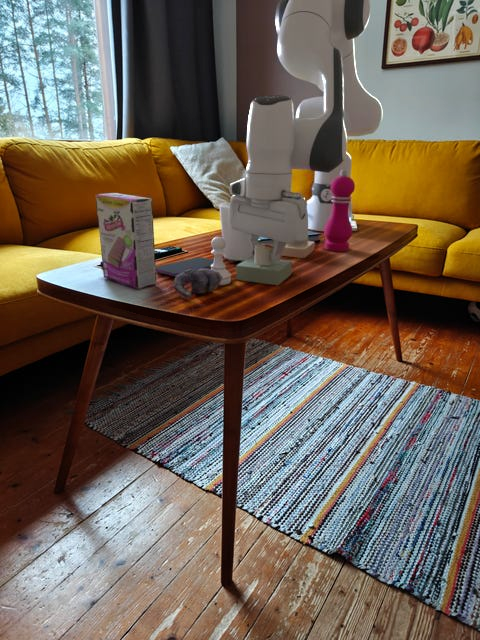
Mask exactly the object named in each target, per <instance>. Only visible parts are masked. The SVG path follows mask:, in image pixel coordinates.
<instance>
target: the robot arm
mask: <svg viewBox="0 0 480 640" xmlns="http://www.w3.org/2000/svg"><path fill="white" fill-rule="evenodd" d="M370 1H371V0H280V1H279V2H278V4H277V6H276V10H275V18H274V23H275V30H276V35H277V43H276V52H277V54H276V55H277V58H278V60H279V62H280V64H281V66H282V67H283V69H284V70H285V71H286V72H287V73H289V74H290V75H291V76H293V77H294V78H297V80H301V81H305V82H308V83H311V84H313V85H315V86H317V88H318V89H319V90H320V91H321V92H323V96H315V97H310V98H306V99H303V100H302V101H301V102H300V103H299V105H298V107H297V108H296V112H295V111H294V110H295V109H294V101H293V98H291V97H289V96H286V95H280V94H279V95H273V94H272V95H263V96H258V97H256V98H254V99H253V100H252V101H251V103H250V107H249V114H248V119H247V129H246V151H247V165H246V168H245V177H243V178H241V179H239V180H236V181H234V182H232V183H230V184H229V194H230V195H232V196H231V197H230V199H229V203H230V224H231V227H232V229H234V230H238V231H242V232H246V233H248V241H249V243H250V246H251V255H253V256H255V245H256V244H260V242H259V240H258V238H259V239H260V237H262V238H264V239H269V240H272V241H273V242H272V244H273V245H275V248H274V250H273V252H270V254H269V256H270V258H269V260H270V261H272V262H275V263H276V262H280V260H281V258H282V256H281V253H282V251H283V249H284V248H285V246H286V243H287V244H291V245H298V244H303V243H305V242H306V240H307V239H308V240H309V230H311V231H316V232H317V231H318V232H324V230H325V227H326V224H327V222H328V221H329V219H330V217H331V214H332V210H333V202H332V201H331V200H332V196H333V193H332V192H331V189H330V187H331V183H332V181H333V180H334V179H335V178H337V177H340V176H341V175H340V172H341V171H342V170H346V171H347V172H348V174H347V177H350V178H351V174H352V164H353V161H352V160H353V159H352V156H351V155H350V154H349V152H347V150H348V137H362V136H366V135H371V134H374V133H375V132H376V131H377V130H378V129H379V127H380V125H381V123H382V120H383V113H384V112H383V107H382V104H381V102H380V101H379V100H378V98H377V97H375V96H373V95H372V94H371V93H369V92H368V91H367V90H366V89H365V88H364V86H363V84H362V83H361V81H360V79H359V77H358V73H357V67H356V58H355V57H356V56H355V39H356V38H358V37H361V35H362V34H363V33H364V32H365V31H366V29H367V27H368V23H369V20H370V16H371V2H370ZM293 170H306V171H313V172H314V178H313V179H314V180H313V181H314V182H313V183H312V186H311V195H312V196H311V197H310V198H309V199H308V200H306V198H305V197H304V195H303V194H302V193H301V192H293V191H292V183H293V182H292V181H293V180H292V179H293ZM352 202H353V201H351V203H349V208H348V216H349V220H350V223H351V226H352V232H357V231H358V226H357V221H356V220H354V218H355V215H354V214H353V206H354V204H353V203H352Z"/></svg>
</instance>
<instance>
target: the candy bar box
mask: <svg viewBox="0 0 480 640" xmlns="http://www.w3.org/2000/svg"><path fill="white" fill-rule="evenodd" d="M95 204H96V214H97V224H98V234H99V240H100V241H99V243H100V252H101V253H100V254H101V263H102V272H103V274H102V275H103V278H104V279H107V280H110V281H114V282H115V283H119V284H121V285H125V286H126V287H127V286H128V287H131V288H133V289H136V290H141V289H145V288H148V287H151V286H154V285H157V272H156V266H157V265H156V249H155V247H156V246H155V232H154V213H153V199H152V198H150V197H144V196H139V195H131V194H125V193H119V192H109V193H98V194H95Z"/></svg>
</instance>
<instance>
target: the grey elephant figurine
mask: <svg viewBox="0 0 480 640" xmlns="http://www.w3.org/2000/svg"><path fill="white" fill-rule="evenodd" d="M221 280H222V276H221V275H220V273H219V272H218V271H214V270H211V268H209V269H205V268H202V269H201V268H200V269H199V270H194V269H189V270H187V271H184V272H182V273H180V274H179V275H177V276H175V278H174V280H173V287H174V291H175V292H176V293H177V294H178V296H180V297H181V298H183V299H187V298H191V299H192V298H193V293H195V294H197V295H198V294H199V295H200V294H203V293H204V292H206V293H210V292H213V291H214V290H216V289H217V288H219V286H220V285H219V283H220V282H221ZM188 283H190V287H191V288H190V289H191V290H188V289H186V288H185V287H186V285H188Z"/></svg>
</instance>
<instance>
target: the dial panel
mask: <svg viewBox="0 0 480 640" xmlns="http://www.w3.org/2000/svg"><path fill="white" fill-rule="evenodd" d="M235 268H236V269H235V280H236V281H242V282H243V281H244V282H250V283H258V284H263V285H272V286H280V285H281V284H282V283H283V282H284V281H286V279H288V278H289V277H290V276H291V275H292V272H293V260H292V259H291V260H289V259H281V260H280V262H276V263H275V264H273V265H258V264H256V263H254V256H252V257H250V258H248V259H247V260H245V261H243V262H241V261H240V263H238V264H236V266H235Z"/></svg>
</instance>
